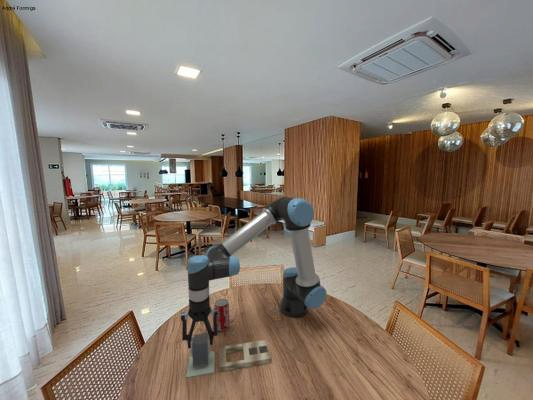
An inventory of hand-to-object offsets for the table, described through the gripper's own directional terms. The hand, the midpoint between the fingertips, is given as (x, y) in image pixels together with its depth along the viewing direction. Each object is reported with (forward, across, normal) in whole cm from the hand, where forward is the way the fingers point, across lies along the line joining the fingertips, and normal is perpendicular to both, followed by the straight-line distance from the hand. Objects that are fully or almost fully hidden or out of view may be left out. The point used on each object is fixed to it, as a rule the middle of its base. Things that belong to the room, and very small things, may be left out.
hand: (201, 353), depth 85 cm
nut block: (+3, 0, 0) cm, 3 cm away
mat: (+5, 0, 0) cm, 5 cm away
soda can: (+5, -8, -20) cm, 22 cm away
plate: (+5, -17, 0) cm, 18 cm away
